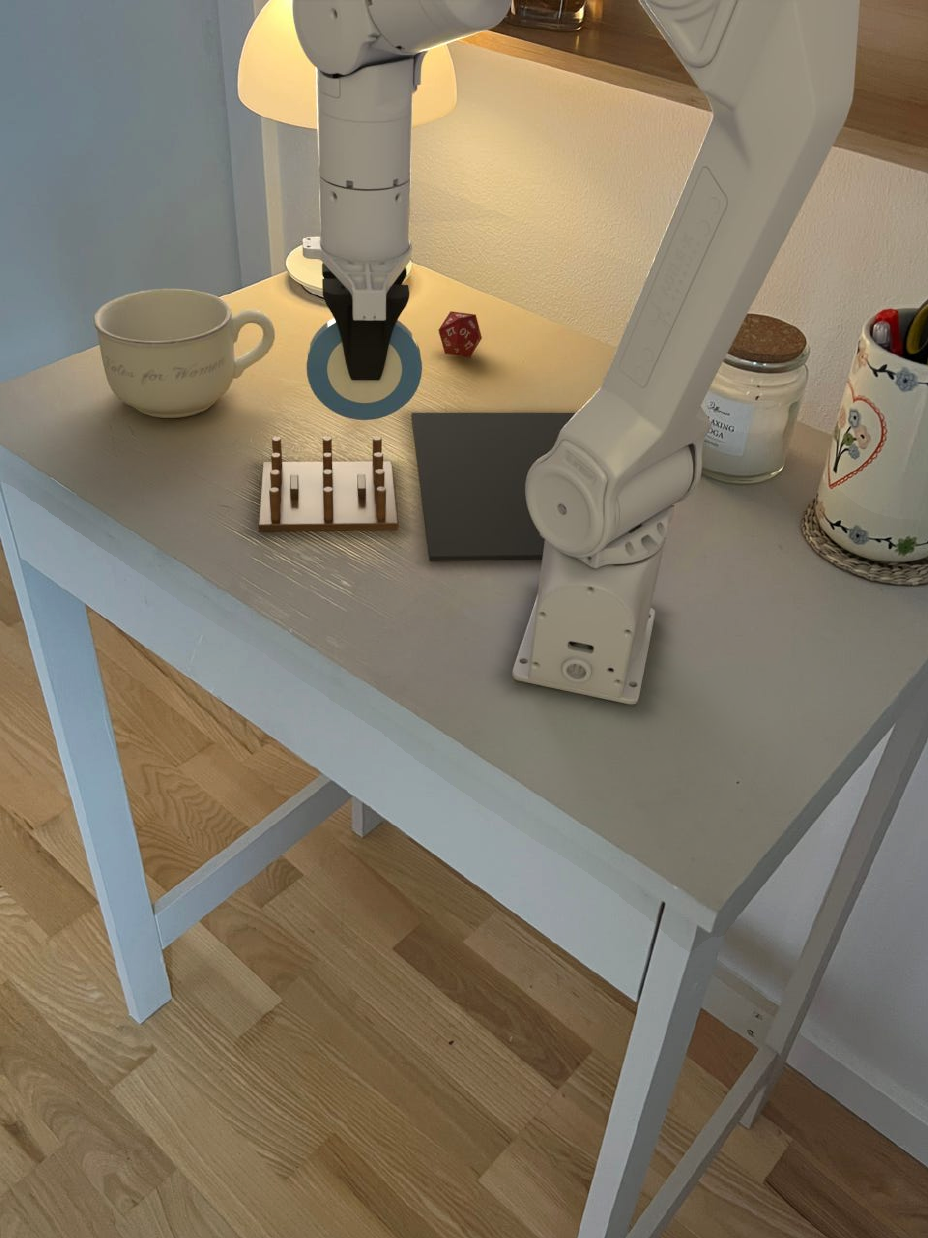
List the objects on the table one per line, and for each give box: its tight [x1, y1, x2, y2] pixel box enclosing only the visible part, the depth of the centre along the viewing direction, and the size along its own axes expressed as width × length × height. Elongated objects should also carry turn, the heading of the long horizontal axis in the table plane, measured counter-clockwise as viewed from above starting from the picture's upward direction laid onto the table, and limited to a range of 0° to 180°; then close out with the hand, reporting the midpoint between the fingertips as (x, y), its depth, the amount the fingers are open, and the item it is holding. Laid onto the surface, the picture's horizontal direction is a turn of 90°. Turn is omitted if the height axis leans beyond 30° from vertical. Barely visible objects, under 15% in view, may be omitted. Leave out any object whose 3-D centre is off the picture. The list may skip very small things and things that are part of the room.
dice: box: [438, 311, 483, 358], centre depth 103 cm, size 4×4×4 cm
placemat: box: [410, 412, 576, 562], centre depth 88 cm, size 20×14×1 cm
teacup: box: [93, 288, 276, 419], centre depth 93 cm, size 14×11×8 cm
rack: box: [258, 436, 399, 532], centre depth 84 cm, size 8×10×3 cm
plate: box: [306, 317, 423, 421], centre depth 79 cm, size 1×8×8 cm, turn 96°
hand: (364, 371), depth 79 cm, fingers closed on plate, 1 cm apart
